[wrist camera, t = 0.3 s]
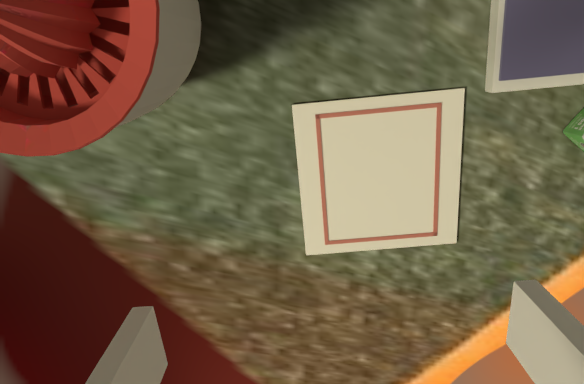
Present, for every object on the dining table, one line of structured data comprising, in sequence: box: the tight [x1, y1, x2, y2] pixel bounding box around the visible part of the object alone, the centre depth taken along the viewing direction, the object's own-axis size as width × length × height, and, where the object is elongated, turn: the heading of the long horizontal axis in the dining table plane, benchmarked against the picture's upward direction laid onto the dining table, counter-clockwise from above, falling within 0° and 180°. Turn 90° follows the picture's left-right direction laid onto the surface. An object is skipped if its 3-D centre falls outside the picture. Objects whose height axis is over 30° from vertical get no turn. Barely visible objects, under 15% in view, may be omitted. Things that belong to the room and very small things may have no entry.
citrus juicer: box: [0, 0, 201, 156], centre depth 25 cm, size 16×17×20 cm
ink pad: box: [485, 0, 584, 93], centre depth 33 cm, size 13×14×2 cm
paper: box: [292, 88, 465, 255], centre depth 39 cm, size 16×16×1 cm
